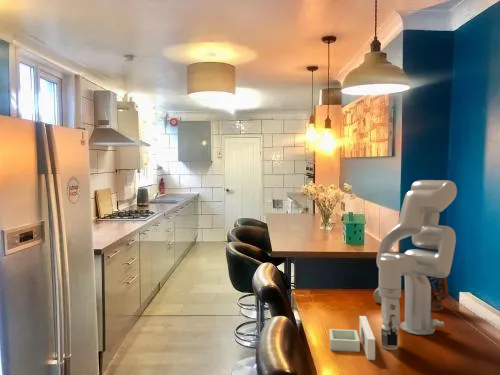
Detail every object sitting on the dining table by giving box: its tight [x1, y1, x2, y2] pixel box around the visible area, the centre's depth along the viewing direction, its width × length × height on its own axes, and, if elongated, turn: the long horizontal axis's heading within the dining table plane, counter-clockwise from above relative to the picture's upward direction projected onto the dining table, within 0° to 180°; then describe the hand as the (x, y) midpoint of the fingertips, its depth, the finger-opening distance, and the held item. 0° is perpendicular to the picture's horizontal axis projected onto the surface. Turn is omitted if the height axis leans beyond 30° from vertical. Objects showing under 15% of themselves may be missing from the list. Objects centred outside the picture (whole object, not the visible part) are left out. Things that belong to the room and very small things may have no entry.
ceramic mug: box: [372, 286, 382, 305], centre depth 195 cm, size 11×8×8 cm
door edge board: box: [358, 315, 376, 361], centre depth 148 cm, size 3×22×7 cm, turn 172°
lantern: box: [423, 248, 450, 312], centre depth 189 cm, size 17×13×30 cm
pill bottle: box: [380, 319, 399, 351], centre depth 146 cm, size 6×6×10 cm
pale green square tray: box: [328, 328, 361, 353], centre depth 149 cm, size 10×10×4 cm
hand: (389, 339), depth 146 cm, fingers open, 8 cm apart
